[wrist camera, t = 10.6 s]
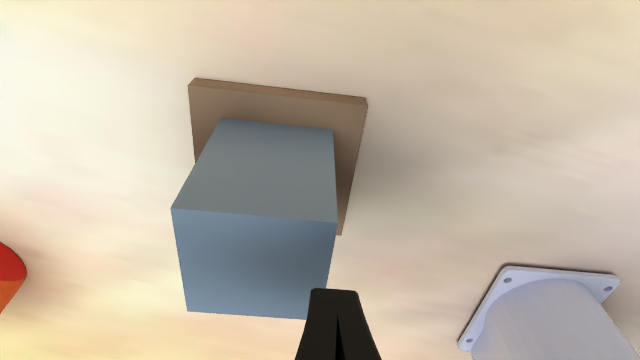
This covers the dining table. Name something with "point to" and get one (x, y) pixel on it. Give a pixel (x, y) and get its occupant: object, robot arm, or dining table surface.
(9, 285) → the paper cup
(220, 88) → the board
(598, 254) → the dining table surface
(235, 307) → the blue-grey block
